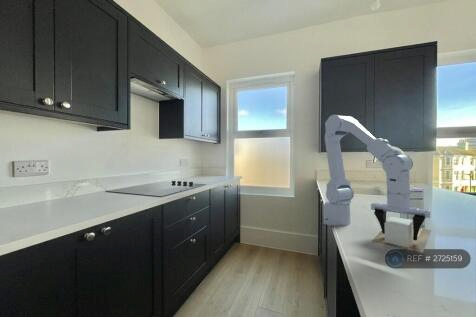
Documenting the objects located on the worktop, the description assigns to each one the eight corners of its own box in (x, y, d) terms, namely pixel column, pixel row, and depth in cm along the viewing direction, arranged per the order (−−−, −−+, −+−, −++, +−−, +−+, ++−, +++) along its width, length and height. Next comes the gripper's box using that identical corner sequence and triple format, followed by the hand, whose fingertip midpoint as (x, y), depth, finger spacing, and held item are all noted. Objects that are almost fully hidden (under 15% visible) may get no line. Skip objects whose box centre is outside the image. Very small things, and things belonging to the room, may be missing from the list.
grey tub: (385, 242, 63) (384, 222, 63) (391, 234, 69) (391, 216, 69) (408, 247, 59) (407, 227, 59) (413, 238, 65) (412, 220, 65)
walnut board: (371, 243, 64) (371, 240, 64) (389, 225, 80) (389, 222, 80) (422, 256, 55) (422, 252, 55) (431, 232, 72) (431, 229, 72)
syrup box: (425, 227, 77) (424, 189, 77) (408, 226, 79) (407, 189, 78) (416, 222, 83) (415, 186, 83) (399, 221, 84) (398, 186, 84)
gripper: (367, 192, 66) (368, 233, 67) (428, 197, 56) (429, 247, 56) (373, 189, 71) (374, 228, 71) (430, 194, 61) (431, 239, 61)
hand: (399, 235), depth 64 cm, fingers open, 7 cm apart
